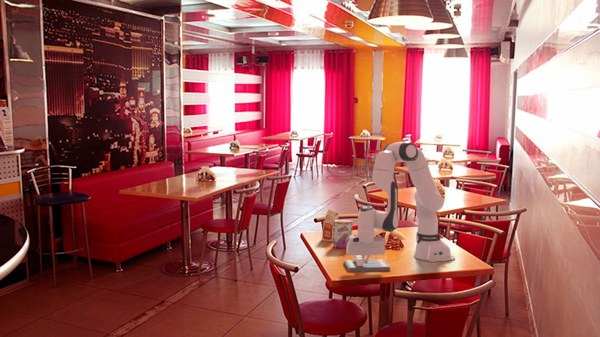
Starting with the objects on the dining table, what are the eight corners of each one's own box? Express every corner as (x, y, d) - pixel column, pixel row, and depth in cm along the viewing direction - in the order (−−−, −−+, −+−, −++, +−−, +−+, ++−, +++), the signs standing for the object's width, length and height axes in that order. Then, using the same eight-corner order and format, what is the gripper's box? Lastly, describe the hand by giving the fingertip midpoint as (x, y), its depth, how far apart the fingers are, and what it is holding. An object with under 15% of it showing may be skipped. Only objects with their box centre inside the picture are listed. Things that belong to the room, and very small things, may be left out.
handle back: (359, 259, 288) (359, 253, 288) (360, 260, 286) (360, 254, 285) (354, 259, 288) (354, 253, 287) (355, 261, 285) (355, 254, 285)
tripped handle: (362, 264, 279) (362, 258, 279) (363, 266, 277) (363, 259, 276) (356, 264, 279) (356, 258, 278) (357, 266, 277) (357, 259, 276)
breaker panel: (383, 262, 291) (383, 258, 291) (390, 270, 277) (390, 266, 277) (343, 263, 289) (343, 259, 289) (348, 271, 275) (348, 267, 275)
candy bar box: (333, 248, 319) (333, 221, 317) (333, 245, 324) (334, 219, 322) (352, 248, 318) (352, 222, 316) (352, 246, 323) (352, 220, 321)
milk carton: (321, 239, 338) (321, 209, 336) (329, 236, 346) (329, 206, 343) (333, 242, 333) (334, 210, 331) (341, 238, 341) (341, 208, 338)
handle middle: (361, 262, 284) (361, 255, 283) (362, 263, 281) (362, 256, 281) (356, 262, 283) (356, 255, 283) (356, 263, 281) (357, 256, 281)
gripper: (383, 235, 280) (383, 260, 282) (345, 236, 278) (345, 261, 280) (387, 238, 274) (386, 264, 276) (348, 239, 272) (347, 265, 274)
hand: (365, 262), depth 278 cm, fingers closed
